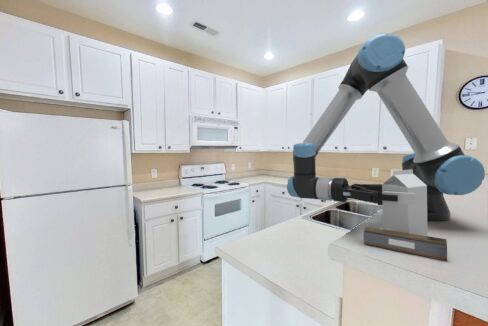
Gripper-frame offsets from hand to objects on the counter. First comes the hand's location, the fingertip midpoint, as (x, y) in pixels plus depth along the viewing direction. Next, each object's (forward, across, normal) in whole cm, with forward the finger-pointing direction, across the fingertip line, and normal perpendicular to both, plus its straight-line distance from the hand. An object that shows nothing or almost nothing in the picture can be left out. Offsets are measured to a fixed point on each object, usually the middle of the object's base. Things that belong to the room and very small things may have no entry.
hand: (416, 194), depth 57 cm
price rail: (-3, +8, -12) cm, 15 cm away
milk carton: (-3, 0, -13) cm, 13 cm away
